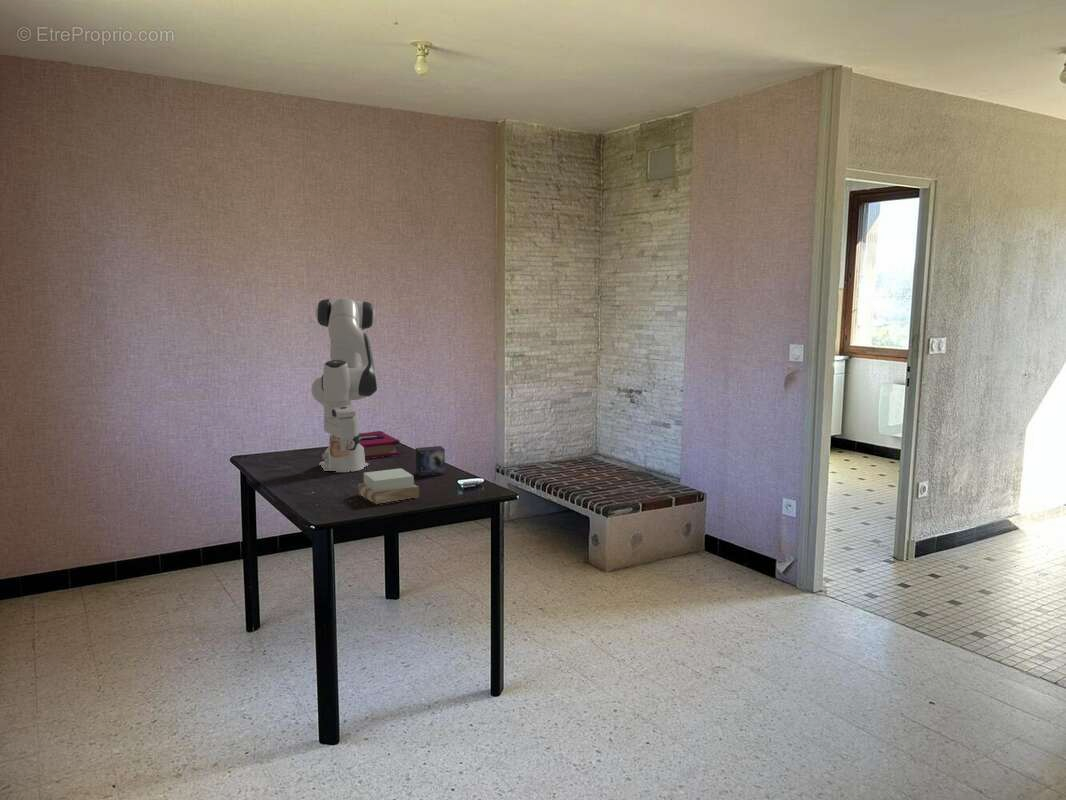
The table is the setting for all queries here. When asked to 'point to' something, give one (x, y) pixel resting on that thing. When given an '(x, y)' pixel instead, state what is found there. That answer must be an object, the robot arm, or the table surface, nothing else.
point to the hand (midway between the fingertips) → (339, 449)
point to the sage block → (388, 480)
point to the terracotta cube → (335, 449)
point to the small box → (430, 460)
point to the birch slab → (388, 494)
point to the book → (378, 444)
